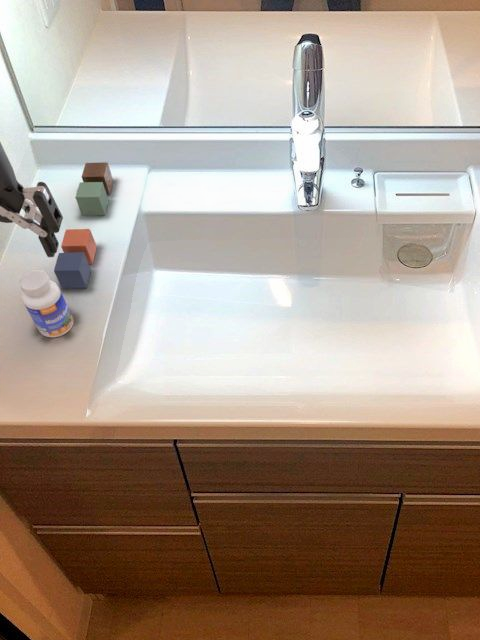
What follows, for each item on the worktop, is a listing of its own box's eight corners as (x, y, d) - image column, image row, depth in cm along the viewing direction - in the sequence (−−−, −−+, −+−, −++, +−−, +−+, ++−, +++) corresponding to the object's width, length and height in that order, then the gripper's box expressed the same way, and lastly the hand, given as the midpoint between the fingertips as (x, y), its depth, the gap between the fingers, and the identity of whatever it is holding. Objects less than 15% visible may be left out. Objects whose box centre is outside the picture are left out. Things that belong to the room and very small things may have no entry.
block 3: (68, 264, 104) (60, 246, 101) (73, 247, 107) (65, 229, 103) (92, 264, 104) (85, 245, 101) (97, 247, 107) (90, 228, 103)
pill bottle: (57, 343, 95) (33, 299, 87) (31, 329, 97) (5, 284, 89) (81, 320, 98) (61, 274, 89) (56, 306, 99) (33, 261, 91)
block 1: (88, 195, 114) (81, 176, 111) (92, 181, 116) (85, 162, 113) (110, 195, 114) (104, 176, 111) (113, 181, 116) (107, 162, 113)
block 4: (62, 288, 101) (53, 270, 98) (67, 270, 104) (58, 252, 100) (86, 288, 101) (79, 270, 98) (91, 270, 104) (83, 252, 100)
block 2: (82, 216, 111) (75, 197, 108) (86, 201, 113) (79, 182, 110) (105, 215, 111) (98, 196, 108) (108, 200, 113) (102, 181, 110)
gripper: (34, 125, 74) (78, 233, 87) (-87, 129, 74) (-24, 236, 87) (19, 165, 69) (68, 272, 83) (-109, 169, 70) (-40, 275, 83)
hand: (21, 253), depth 85 cm, fingers open, 8 cm apart
